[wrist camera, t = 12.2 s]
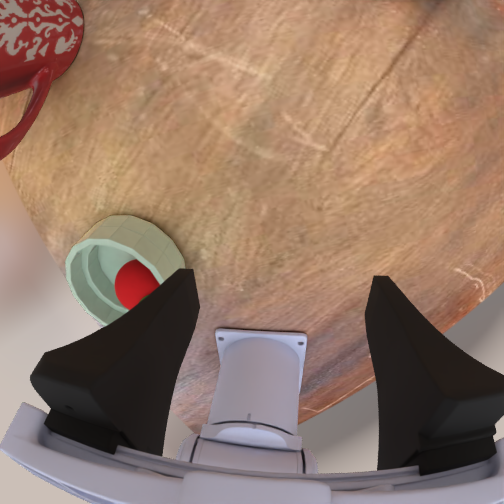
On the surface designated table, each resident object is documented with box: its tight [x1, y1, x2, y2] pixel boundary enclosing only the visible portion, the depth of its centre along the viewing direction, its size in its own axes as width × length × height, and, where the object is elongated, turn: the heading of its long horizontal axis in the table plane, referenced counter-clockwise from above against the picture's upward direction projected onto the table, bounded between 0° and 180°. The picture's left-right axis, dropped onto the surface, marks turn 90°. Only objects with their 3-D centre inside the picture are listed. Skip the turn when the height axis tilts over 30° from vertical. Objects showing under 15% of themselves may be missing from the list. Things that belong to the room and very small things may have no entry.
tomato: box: [114, 259, 160, 310], centre depth 23 cm, size 4×4×4 cm
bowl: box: [65, 215, 186, 326], centre depth 23 cm, size 9×9×4 cm
